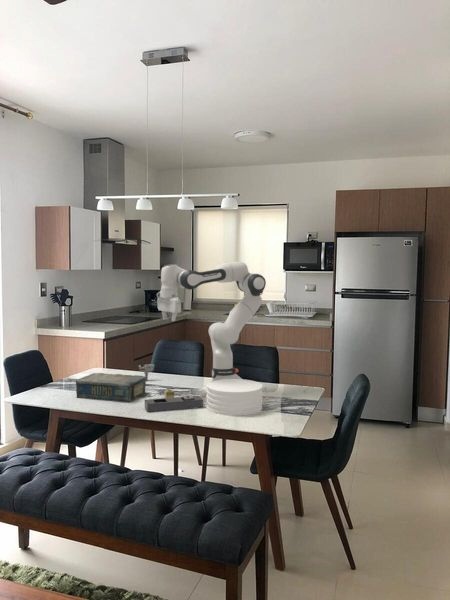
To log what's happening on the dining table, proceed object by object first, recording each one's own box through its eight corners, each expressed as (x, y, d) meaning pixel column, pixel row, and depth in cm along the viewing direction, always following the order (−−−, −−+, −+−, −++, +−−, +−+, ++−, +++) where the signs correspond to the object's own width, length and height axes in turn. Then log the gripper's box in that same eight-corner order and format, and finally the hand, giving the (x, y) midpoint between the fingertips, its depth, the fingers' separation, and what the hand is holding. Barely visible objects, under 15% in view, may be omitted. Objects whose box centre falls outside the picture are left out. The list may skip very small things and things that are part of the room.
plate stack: (229, 397, 264) (230, 376, 264) (273, 407, 247) (273, 384, 246) (194, 408, 243) (195, 385, 242) (239, 419, 225) (239, 395, 224)
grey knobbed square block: (190, 405, 248) (190, 395, 247) (193, 407, 244) (193, 397, 243) (182, 405, 246) (182, 395, 246) (184, 408, 242) (184, 397, 242)
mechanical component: (137, 380, 300) (137, 364, 299) (154, 379, 303) (154, 363, 303) (138, 381, 297) (138, 365, 297) (155, 380, 300) (155, 364, 300)
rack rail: (198, 403, 251) (198, 395, 251) (203, 407, 243) (203, 399, 243) (144, 407, 242) (144, 399, 242) (147, 412, 234) (147, 403, 234)
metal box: (129, 403, 250) (129, 384, 250) (74, 398, 259) (74, 379, 258) (147, 393, 271) (147, 375, 270) (95, 389, 280) (95, 371, 279)
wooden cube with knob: (172, 398, 260) (172, 389, 260) (174, 400, 256) (174, 390, 255) (164, 399, 258) (164, 389, 258) (166, 401, 254) (166, 391, 254)
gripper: (184, 295, 253) (184, 321, 254) (165, 293, 270) (165, 318, 270) (173, 295, 249) (173, 322, 250) (155, 293, 266) (155, 318, 267)
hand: (169, 320), depth 260 cm, fingers open, 8 cm apart
